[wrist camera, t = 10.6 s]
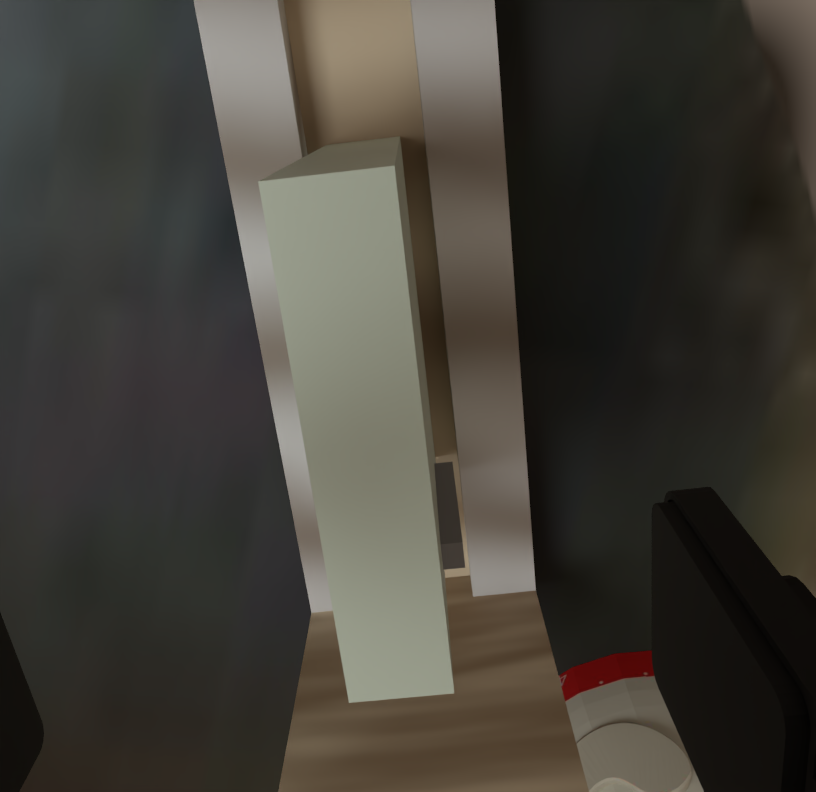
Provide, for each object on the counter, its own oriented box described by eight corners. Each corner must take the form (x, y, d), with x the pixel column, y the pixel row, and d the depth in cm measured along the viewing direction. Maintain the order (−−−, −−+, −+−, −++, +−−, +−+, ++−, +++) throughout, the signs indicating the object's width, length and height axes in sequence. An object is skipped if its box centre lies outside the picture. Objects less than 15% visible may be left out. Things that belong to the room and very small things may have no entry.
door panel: (326, 144, 26) (258, 181, 14) (417, 134, 26) (427, 161, 14) (372, 463, 31) (348, 702, 18) (450, 455, 30) (479, 691, 18)
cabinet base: (198, -70, 25) (-1, -234, 13) (477, -108, 25) (547, -313, 12) (323, 606, 34) (277, 885, 22) (529, 585, 34) (597, 858, 22)
